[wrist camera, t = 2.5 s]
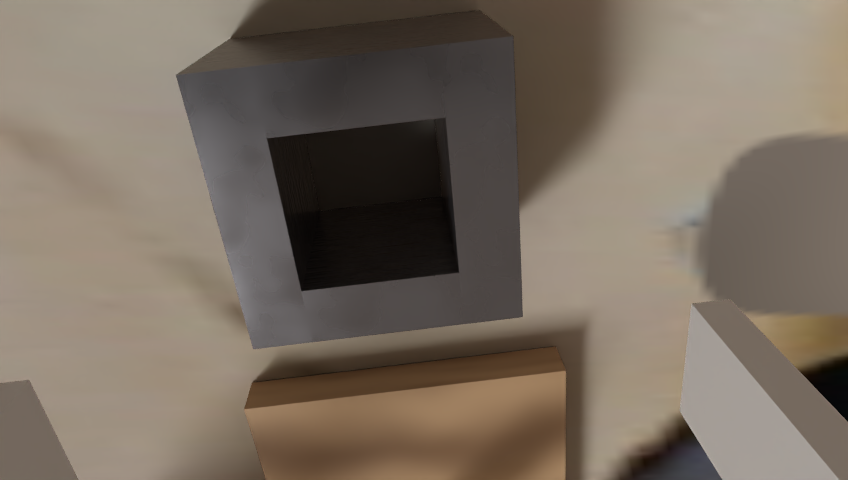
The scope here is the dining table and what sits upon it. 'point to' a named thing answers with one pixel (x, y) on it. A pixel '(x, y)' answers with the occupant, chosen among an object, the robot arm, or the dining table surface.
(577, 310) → the dining table surface
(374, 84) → the grey square socket block
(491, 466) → the board
